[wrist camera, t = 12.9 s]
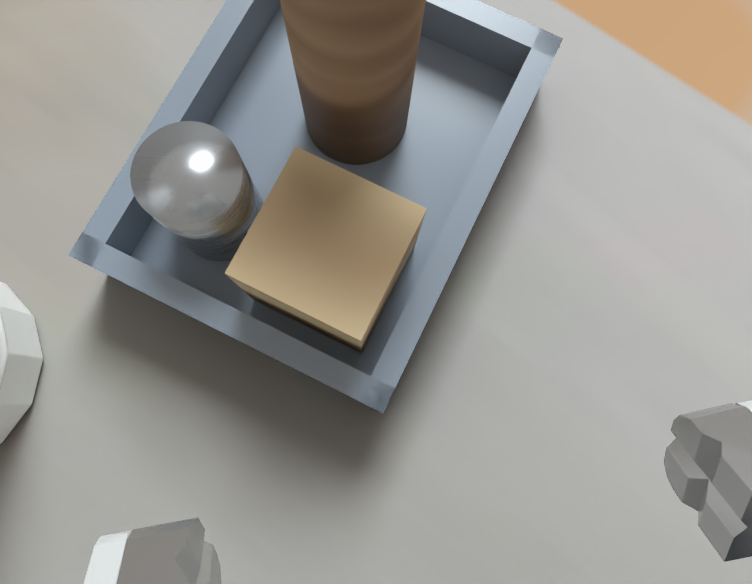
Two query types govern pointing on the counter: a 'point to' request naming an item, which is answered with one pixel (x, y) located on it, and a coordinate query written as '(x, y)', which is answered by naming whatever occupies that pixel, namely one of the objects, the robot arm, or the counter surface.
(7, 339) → the white cup
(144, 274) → the tray
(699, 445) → the robot arm
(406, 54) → the brown wooden peg
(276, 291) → the oak block
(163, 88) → the counter surface
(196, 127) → the silver dome cap
